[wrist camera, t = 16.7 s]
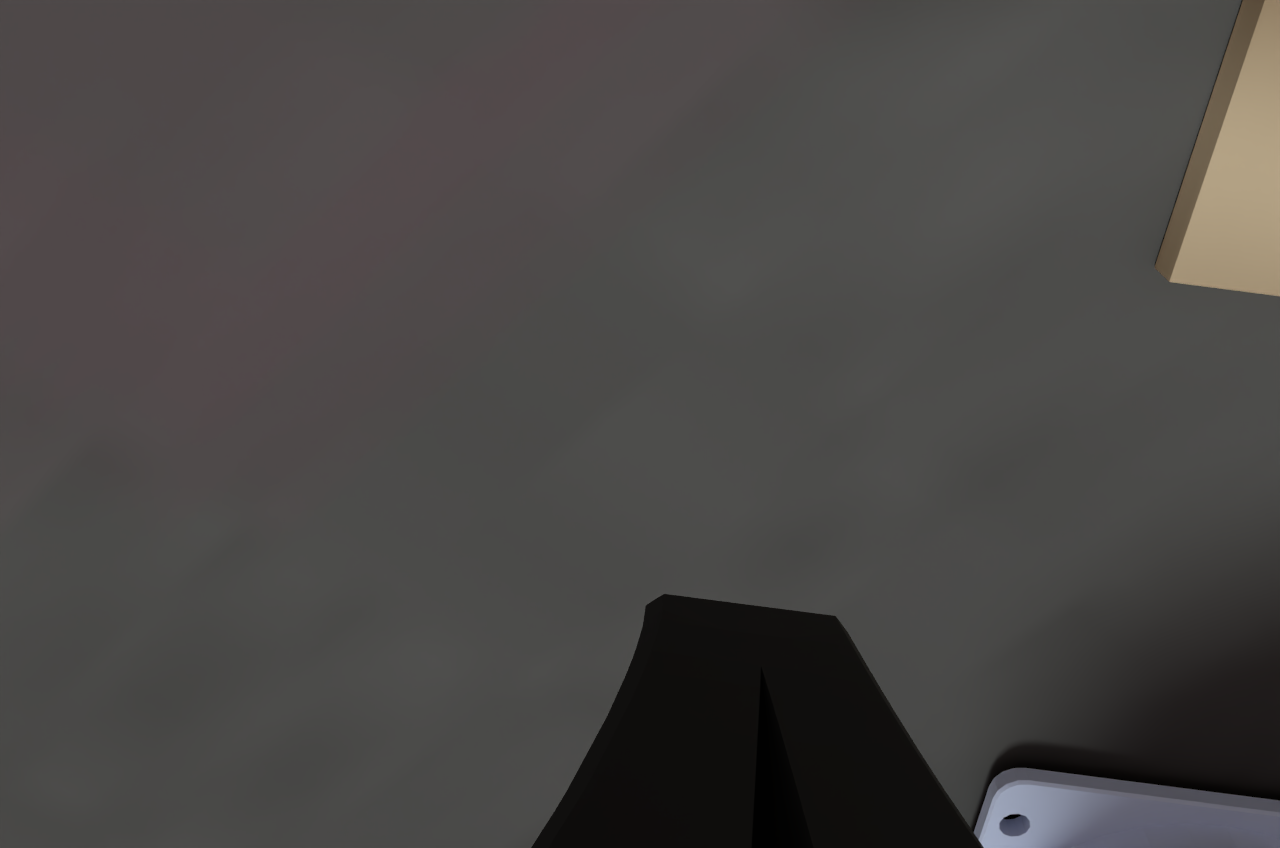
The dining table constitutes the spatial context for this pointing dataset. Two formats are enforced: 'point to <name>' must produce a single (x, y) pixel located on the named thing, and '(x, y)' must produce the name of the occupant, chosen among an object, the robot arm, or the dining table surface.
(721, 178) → the dining table surface
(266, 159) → the dining table surface
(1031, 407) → the dining table surface
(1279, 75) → the oak board
